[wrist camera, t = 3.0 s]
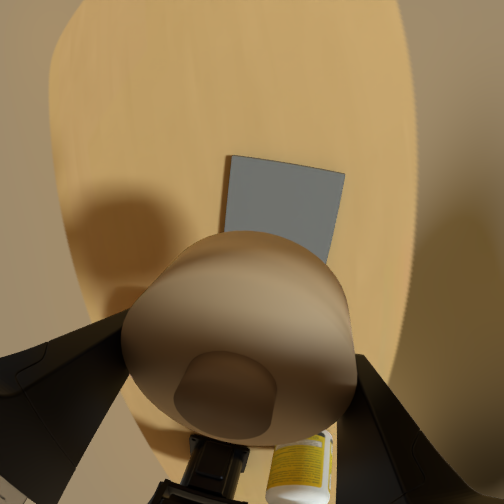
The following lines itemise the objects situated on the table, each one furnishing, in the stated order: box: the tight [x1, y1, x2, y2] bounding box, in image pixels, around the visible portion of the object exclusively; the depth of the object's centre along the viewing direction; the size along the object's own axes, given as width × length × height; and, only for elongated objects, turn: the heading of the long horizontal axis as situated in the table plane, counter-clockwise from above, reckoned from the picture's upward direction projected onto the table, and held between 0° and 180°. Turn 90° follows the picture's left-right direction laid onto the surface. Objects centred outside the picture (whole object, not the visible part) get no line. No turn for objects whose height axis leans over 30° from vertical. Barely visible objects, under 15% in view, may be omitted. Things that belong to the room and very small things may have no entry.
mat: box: [224, 155, 345, 264], centre depth 17 cm, size 9×6×1 cm, turn 173°
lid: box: [121, 231, 357, 446], centre depth 8 cm, size 6×6×4 cm
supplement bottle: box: [266, 430, 333, 504], centre depth 20 cm, size 5×5×10 cm
